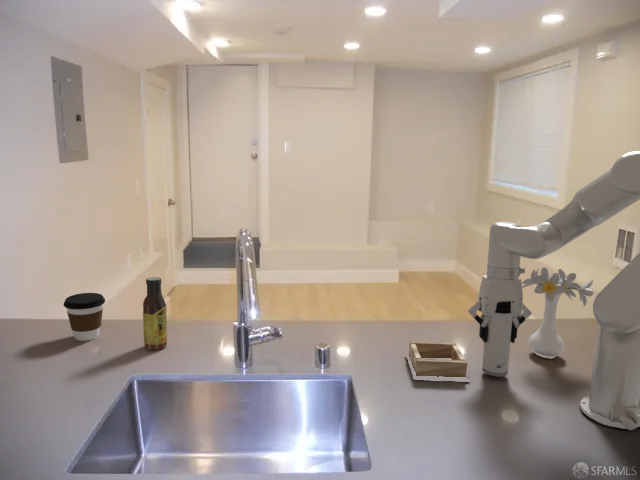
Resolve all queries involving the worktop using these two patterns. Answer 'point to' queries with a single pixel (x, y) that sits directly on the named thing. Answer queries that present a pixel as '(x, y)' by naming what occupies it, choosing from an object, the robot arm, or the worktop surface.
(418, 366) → the wooden square tray
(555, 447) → the worktop surface
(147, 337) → the sauce bottle
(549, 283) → the flower vase
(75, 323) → the coffee cup
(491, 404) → the worktop surface
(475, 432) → the worktop surface
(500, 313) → the travel mug
